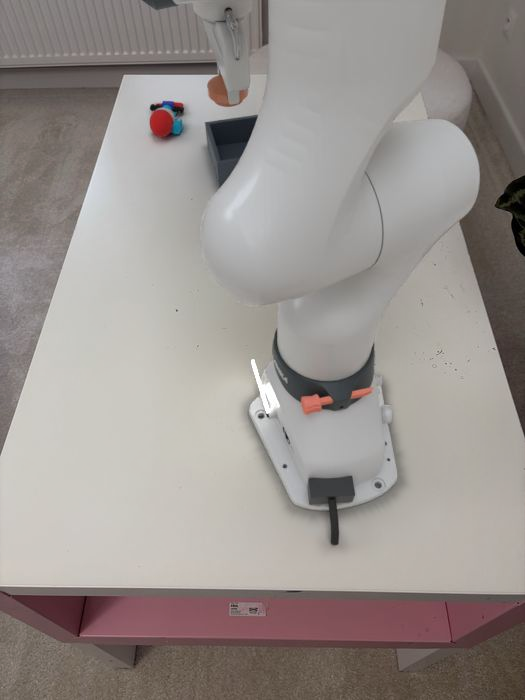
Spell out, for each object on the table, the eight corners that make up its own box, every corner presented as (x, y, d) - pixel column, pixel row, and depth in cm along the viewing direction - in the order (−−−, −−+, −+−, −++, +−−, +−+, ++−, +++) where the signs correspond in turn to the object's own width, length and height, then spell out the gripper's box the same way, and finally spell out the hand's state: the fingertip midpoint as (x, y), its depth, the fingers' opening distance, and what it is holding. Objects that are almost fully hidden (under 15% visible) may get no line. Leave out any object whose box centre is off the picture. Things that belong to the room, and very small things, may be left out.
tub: (288, 178, 100) (289, 152, 96) (219, 189, 99) (217, 163, 94) (272, 137, 108) (272, 112, 103) (207, 147, 106) (204, 122, 102)
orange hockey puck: (252, 106, 86) (252, 92, 84) (212, 112, 85) (210, 98, 83) (244, 85, 90) (243, 71, 88) (205, 90, 89) (203, 76, 87)
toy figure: (153, 112, 116) (141, 141, 106) (151, 89, 113) (139, 116, 102) (187, 115, 117) (179, 144, 106) (186, 92, 113) (178, 119, 103)
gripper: (259, 25, 70) (261, 120, 81) (230, -35, 81) (234, 56, 92) (213, 30, 69) (221, 126, 80) (190, -31, 80) (199, 61, 91)
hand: (228, 88), depth 86 cm, fingers closed on orange hockey puck, 7 cm apart
